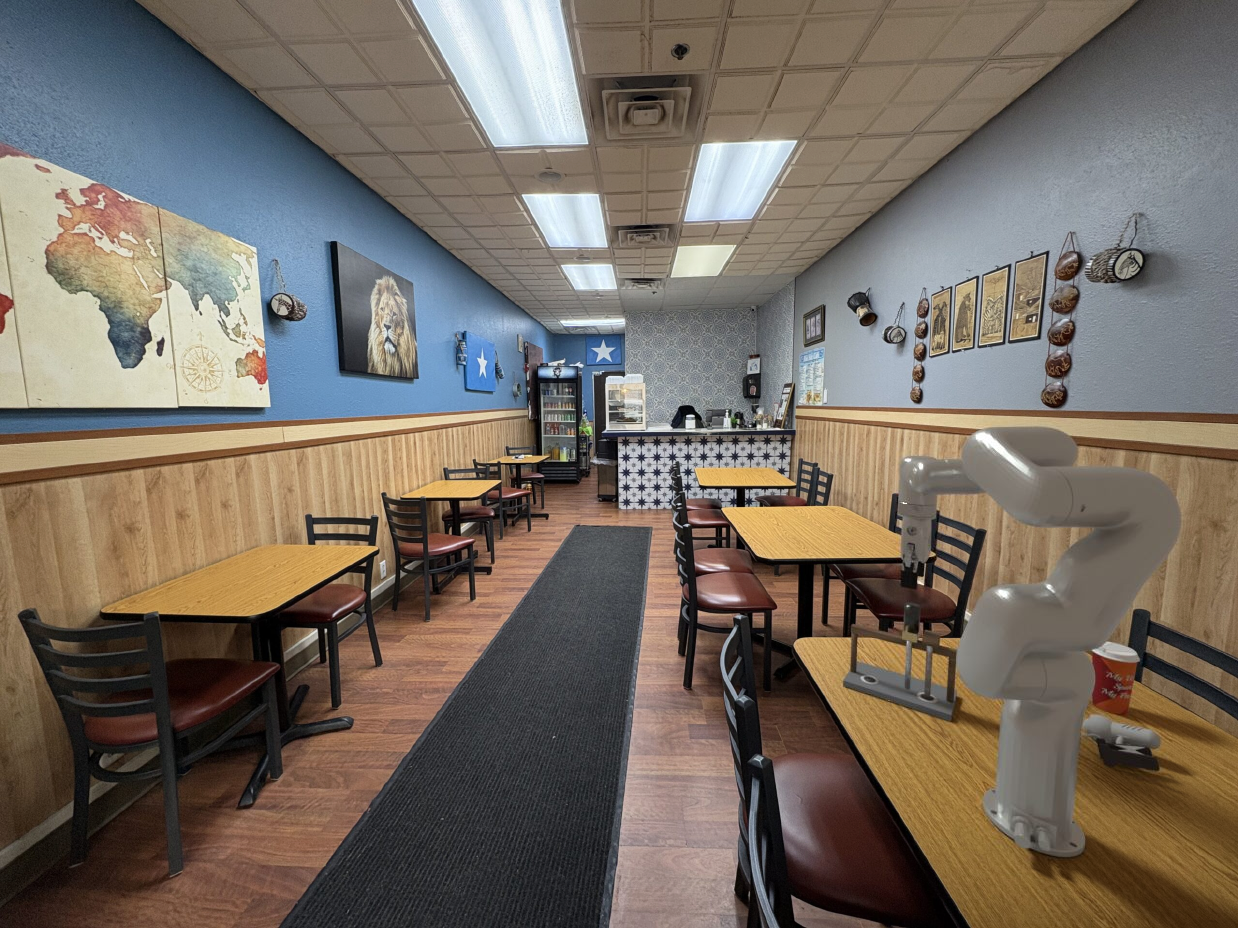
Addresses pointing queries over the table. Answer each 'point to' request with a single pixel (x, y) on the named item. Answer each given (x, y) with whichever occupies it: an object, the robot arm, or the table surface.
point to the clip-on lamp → (1119, 752)
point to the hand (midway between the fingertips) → (912, 581)
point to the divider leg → (910, 636)
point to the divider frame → (927, 644)
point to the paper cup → (1113, 677)
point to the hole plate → (901, 690)
